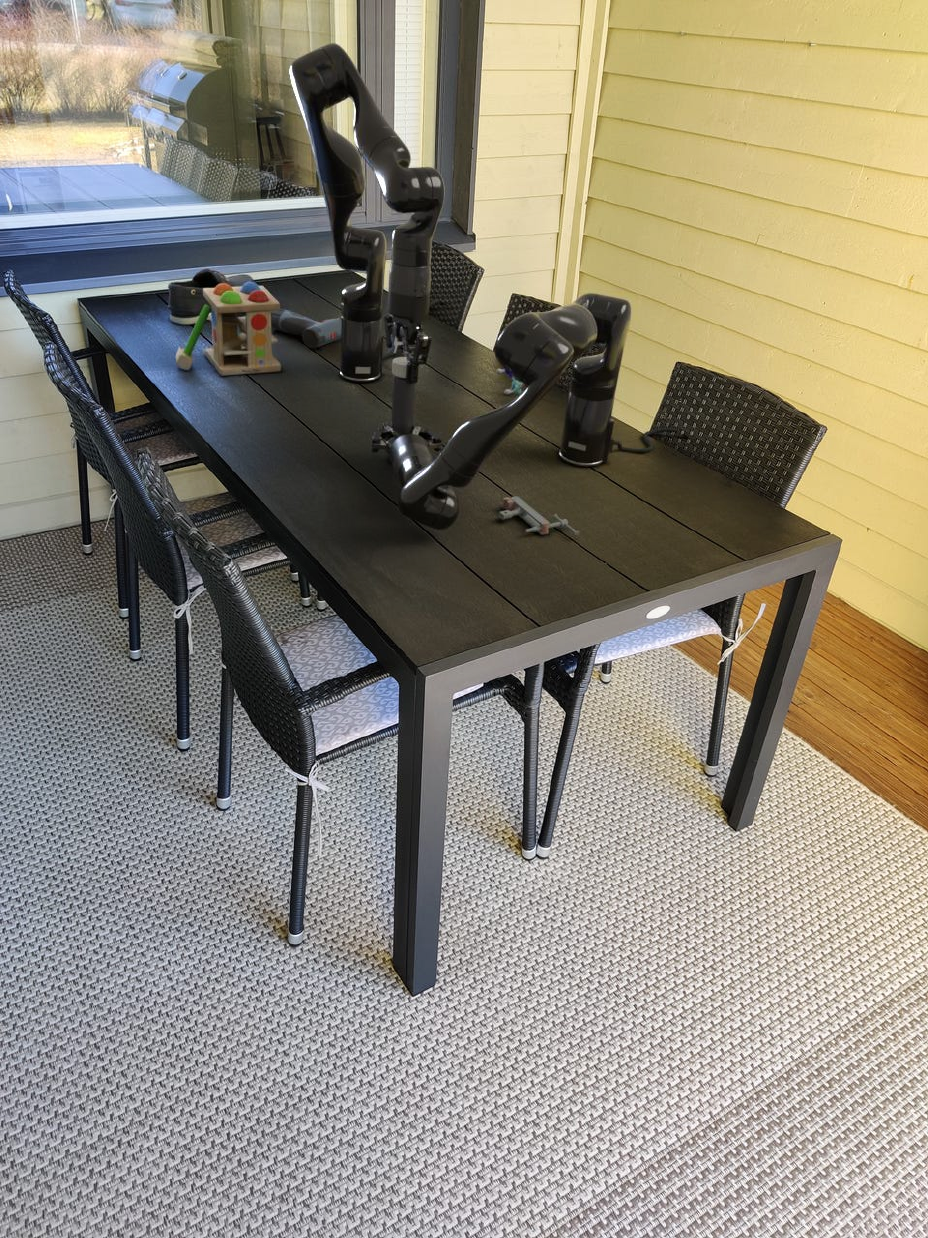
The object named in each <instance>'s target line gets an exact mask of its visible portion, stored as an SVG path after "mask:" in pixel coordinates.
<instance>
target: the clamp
mask: <svg viewBox="0 0 928 1238" xmlns="http://www.w3.org/2000/svg"><path fill="white" fill-rule="evenodd" d="M502 499H503V500H502V506H501V507H502V509H503V510H502V511H499V515H498V517H499V518H500V519H501V520H502V521H503V520H507V519H508V520H509V519H512V518H513V517H515V516H516V517H517V516H518V517H520V518H521V519H522V520H523V521H524V522H525V523H526V524H528V525H529V526H530V527H531V528H526V529H524V532H525V533H534V532H537V533H539V534H540V535H548V534H549V532H550V531H549V530H550V529H552V528H553V529H554V528H558V527H559V528H564V527H565V528H566V529H568V530H569V531H570V532H572V533H573V535H574V536H576V537H577V536H579V534H580V531H579V530H576V529H574V528H573V527H572V526H570V525H569V520H568V519H567V518H564V519H561V518H560V517H558V514H557V513H554V514H553V515H552V519H553V520H556V521H557V522H556V521H555V522H552V523H551V522H550V521H548V520H547V519H546V518H545V517H543V516H542V515H541V514H540V513H539V512H537V511H536V510H535V509H534V508H533V507H532V506H530V505H529V503H526V502H525V501H524V500H523V499H521V498H520V496H511V497H509V496H506V497H503V498H502Z"/></svg>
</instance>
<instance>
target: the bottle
mask: <svg viewBox="0 0 928 1238" xmlns="http://www.w3.org/2000/svg"><path fill="white" fill-rule="evenodd" d="M415 392H416V384H407V383H406V378H401V377H397V376H395V375H393V379H392V399H391V400H392V401H391V420H390V422H391V425H392V429H393V430H397V431H398V432H399V433H400V434H403V435H406V434H412V428H413V420H414V411H415V410H414V409H415V394H416V393H415ZM389 462H390V463H391V464H392V461H391V458H390V457H389Z"/></svg>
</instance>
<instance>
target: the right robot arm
mask: <svg viewBox="0 0 928 1238" xmlns="http://www.w3.org/2000/svg"><path fill="white" fill-rule="evenodd" d="M631 319H632V305H631V303H630V301H629V300H628V299H625V298H621V297H615V296H611V295H605V294H600V293H594V292H587V293H583V294H581V295H580V296H579V297H577V298H576V299H575V300H573V302H571V303H568V304H564V305H561V306H558V307H556V308H553V309H552V310H547V311H542V312H538V311H537V312H536V311H535V312H525V313H524V314H521V315H518V316H517V317H516V318H514V319H512V320H511V321H510V322H509V323H508V324H507V325H505V327H504V328H503V329H502V330H501V332H500V334H499V335H498V337H497V339H496V342H495V346H494V356H495V358H496V360H497V362H498V363H499V364H500V365H501V367H503V369H506V370H507V371H509V372H510V373H511V374H512V375H513V377H514V378H516V379H517V381H519V382H522V383H523V384H524V385H525V386H524V388H523V390H522V392H521V393H520V394H519V395H516V397H515V398H514V399H512V400H511V401H509V402H508V403H505V404H503V405H501V406H498V407H497V408H494V409H493V410H489V411H486V412H483V413H481V414H479V415H476V416H473V417H471V418H469V419H467V420H466V421H464V422H463V423H462V424H461V425H460V426H459V427H458V428H457V429H456V430H454V432H453V433H452V435H451V436H450V437H449V438H448V440H447V441H446V442H445V445H444V446H443V448H442V442H443V439H442V437H441V436H439V435H438V434H437V433H436V432H434V431H433V430H432V429H431V428H430V427H424V428H423V429H422V427H421V426H419V423H418V422H417V421H415V420H414V419H413V428H412V434H406V435H403V434H400V433H399V432H398V431H397V430H393V429H392V425H391V420H390V419H386V420H385V421H384V422H383V423H382V427H377V428H376V429H375V431H374V434H373V436H372V439H371V452H372V453H378V452H379V451H381V450H385V452H386V453H387V454H388V455H389V459H390V458H391V461H392V463H391V464H392V469H393V472H394V473H395V475H396V478H397V479H398V481H399V483H400V487H401V489H400V490H399V492H398V496H397V503H396V504H397V507H398V508H397V509H398V511H399V512H400V514H402V515H403V516H404V517H406V518H408V519H411V520H413V521H415V522H417V523H419V524H421V525H424V526H425V527H428V528H430V529H432V530H435V531H444V530H448V529H449V528H451V527H452V526H453V525H454V524H455V523H456V521H457V519H458V517H459V513H460V502H459V498H458V496H457V494H456V492H455V491H454V490H453V488H458V489H459V488H461V489H462V488H466V487H467V486H468V485H469V484H470V483H471V482H472V481H473V480H474V478H475V477H476V475H477V474H478V473H479V471H480V470H481V469H482V468H483V466H484V464H485V463H486V462H487V461H488V459H489V458H490V457H491V455H492V454H493V453H494V451H495V450H496V449H497V447H499V445H501V443H502V442H503V441H505V439H506V438H507V436H509V434H510V433H511V432H512V431H513V430H514V429H515V428H516V427H517V426H518V425H519V424H520V423H521V422H522V421H523V420H524V419H525V418H526V417H527V416H528V414H529V413H530V412H532V410H533V409H534V408H535V407H536V406H537V405H538V404H539V402H540V401H541V400H542V399H543V398H544V397H545V396H546V395H547V394H548V392H549V391H550V390H551V389H552V388H553V386H554V385H555V384H556V383H557V382H558V381H559V380H560V378H561V377H562V375H564V373H565V372H566V370H567V369H568V367H569V365H570V363H571V362H572V361H574V362H573V364H572V368H571V373H570V375H571V376H570V380H569V387H568V394H567V402H566V408H565V415H564V422H563V428H562V436H561V441H560V445H559V452H558V456H559V458H560V459H561V460H562V461H563V462H565V463H567V464H569V465H572V466H577V467H581V468H582V467H583V468H584V467H586V468H593V467H597V466H600V465H602V464H607V463H608V458H609V453H613V448H614V446H617V449H618V450H619V451H622V452H627V453H632V454H633V453H634V454H645V453H649V452H651V451H652V450H653V449H654V444H653V442H652V441H651V439H650V438H649V437H648V436H650V435H654V434H659V433H676V434H678V433H677V429H678V428H675V427H662V428H661V427H660V428H655V429H651V430H647V431H645V432H644V433H643V434H642V438H643V440H644V442H645V443H646V444H647V445H648V447H646V448H645V447H644V448H630V447H626V446H624V445H623V444H622V442H620V441H618V440H615V439H614V438H613V436H612V435H613V431H614V424H615V420H614V418H613V417H612V416H613V415H612V414H613V409H614V403H615V398H616V392H617V385H618V380H619V376H620V375H619V374H620V371H621V366H622V361H623V357H624V356H623V355H624V350H625V345H626V341H627V337H628V334H629V328H630V325H631ZM594 345H595V346H599V347H604V348H605V349H604V352H602V353H599V354H595V355H588V356H585V355H586V354H587V353H588V352H589V351H590V350H591V349H592V348H593V347H594ZM687 434H688V433H687ZM687 434H680V435H682V436H683V437H684V438H685V439H688V440H690V439H691V440H692V438H691V436H690V435H689V434H688V435H689V436H688V435H687ZM384 440H385V441H386V442H384ZM431 450H434V451H435V452H436V453H437V452H438V455H437V456H436V457H435V458H434V456H433V453H432V451H431Z"/></svg>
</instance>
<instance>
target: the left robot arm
mask: <svg viewBox="0 0 928 1238" xmlns="http://www.w3.org/2000/svg"><path fill="white" fill-rule="evenodd" d="M289 75H290V81H291V85H292V88H293V92H294V95H295V98H296V101H297V104H298V107H299V110H300V114H301V116H302V119H303V122H304V126H305V128H306V132H307V135H308V139H309V142H310V146H311V151H312V154H313V155H312V156H313V161H314V165H315V170H316V174H317V178H318V181H319V182H318V183H319V186H320V190H321V192H322V195H323V199H324V203H325V207H326V211H327V216H328V221H329V227H330V233H331V234H330V235H331V241H332V248H333V253H334V259H335V261H336V263H337V265H338V267H339V268H340V269H341V270H344V271H348V272H353V273H358V274H364V275H365V274H366V277H365V280H364V281H362V282H359V283H354V284H351V285H347V286H345V287H344V288H343V289H342V290H341V307H340V308H341V310H340V311H341V312H340V314H341V315H340V318H341V338H340V370H339V376H340V377H341V378H342V380H345V381H348V382H352V383H359V384H360V383H361V384H364V383H365V384H366V383H367V384H369V383H373V382H376V381H378V380H380V378H381V375H382V374H383V360H385V359H388V358H390V357H392V360H393V359H394V358H397V357H406V358H407V366H406V383H407V384H415V385H417V383H418V381H419V369H420V366H421V365H426V364H427V362H428V357H429V353H430V348H431V345H432V344H431V343H432V335H430V334H428V335H427V334H426V333H425V332H424V325H423V321H424V319H425V318H426V317H428V315H429V314H430V308H431V307H432V306H434V305H436V304H438V302H439V299H440V298H437V299H435V300H433V301H430V298H431V286H432V285H431V283H432V273H431V272H432V271H431V270H432V269H431V262H432V261H431V260H432V243H433V238H434V234H435V232H436V229H437V226H438V222H439V219H440V216H441V214H442V210H443V207H444V203H445V198H446V197H445V196H446V188H445V181H444V179H443V176H442V175H441V173H440V172H439V171H438V170H437V169H436V168H435V167H432V166H417V167H410V165H411V162H412V161H411V160H412V157H411V152H410V150H409V148H408V146H407V145H406V143H405V142H404V141H403V140H402V138H401V137H400V136H399V135H398V133H397V132H396V131H395V130H394V129H393V127H392V126H391V124H390V123H389V122H388V121H387V119H386V118H385V116H384V115H383V113H382V111H381V109H380V108H379V106H378V104H377V102H376V100H375V98H374V97H373V95H372V93H371V91H370V90H369V88H368V86H367V84H366V82H365V81H364V79H363V77H362V76H361V74H360V72H359V70H358V68H357V67H356V65H355V63H354V62H353V60H352V58H351V56H349V54H348V52H347V51H346V50H345V49H344V48H343V47H342V46H341V45H340V44H338V43H334V42H332V43H328V44H325V45H323V46H320V47H318V48H316V49H314V50H312V51H310V52H307V53H305V54H303V55H301V56H299V57H297V58H296V59H295V60H293V61H292V62H291V63H290V67H289ZM347 99H351V101H352V103H353V126H352V131H353V139H354V143H355V145H354V144H353V143H352V142H351V141H350V140H349V139H348V138H346V137H345V136H343V135H342V134H340V132H338V131H336V130H335V129H334V128H333V127H332V126H331V125H330V124H329V123H328V122H327V121H326V120H325V117H324V112H325V111H326V110H327V109H329V108H331V107H334V106H336V105H338V104H340V103H342V102H343V101H345V100H347ZM362 158H363V159H364V161H365V163H366V164H367V165H368V166H369V168H370V169H371V170H372V171H373V172H374V174H375V177H376V180H377V183H378V185H379V188H380V191H381V195H382V197H383V199H384V202H385V204H386V205H387V206H388V207H389V208H390V209H391V210H392V211H394V212H396V213H399V214H411V216H410V218H409V219H408V220H407V222H405V223H402V224H399V225H398V226H396V227H395V228H394V229H393V231H392V235H391V250H390V254H391V255H390V259H391V260H390V266H389V272H388V289H387V290H388V293H387V294H388V295H387V312H388V314H385V315H384V316H383V299H384V298H383V297H384V288H385V287H384V286H385V270H386V261H387V239H386V236H385V234H384V232H383V231H380V230H377V229H369V228H363V227H358V226H357V227H355V226H353V225H352V224H351V220H350V218H351V216H352V214H353V212H354V210H355V209H356V208H357V206H358V205H359V203H360V202H361V200H362V199H363V196H364V194H365V191H366V186H367V184H366V183H367V182H366V181H367V180H366V175H365V170H364V165H363V160H362ZM439 303H440V304H441V305H443V306H445V305H446V302H445V301H444V302H439ZM383 322H384V335H385V345H386V348H387V349H390V351H389V352H387V353H385V354H383V353H384V335H383V334H382V323H383ZM410 346H413V347H410ZM412 353H413V354H412ZM392 363H393V361H392V362H391V364H392Z"/></svg>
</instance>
